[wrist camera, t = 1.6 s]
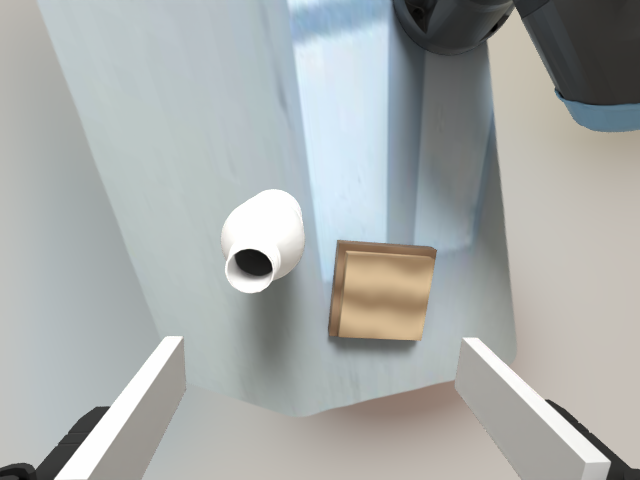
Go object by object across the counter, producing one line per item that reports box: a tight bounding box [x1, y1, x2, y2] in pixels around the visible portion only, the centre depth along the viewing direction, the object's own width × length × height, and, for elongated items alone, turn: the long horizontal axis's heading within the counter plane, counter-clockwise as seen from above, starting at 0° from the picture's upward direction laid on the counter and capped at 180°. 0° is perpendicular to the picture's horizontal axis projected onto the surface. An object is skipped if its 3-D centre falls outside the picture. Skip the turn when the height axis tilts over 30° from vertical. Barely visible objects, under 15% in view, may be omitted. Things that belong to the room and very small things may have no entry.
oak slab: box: [337, 251, 435, 340], centre depth 44 cm, size 12×12×2 cm
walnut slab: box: [328, 240, 437, 336], centre depth 46 cm, size 14×14×2 cm
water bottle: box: [221, 189, 305, 293], centre depth 31 cm, size 7×7×25 cm
